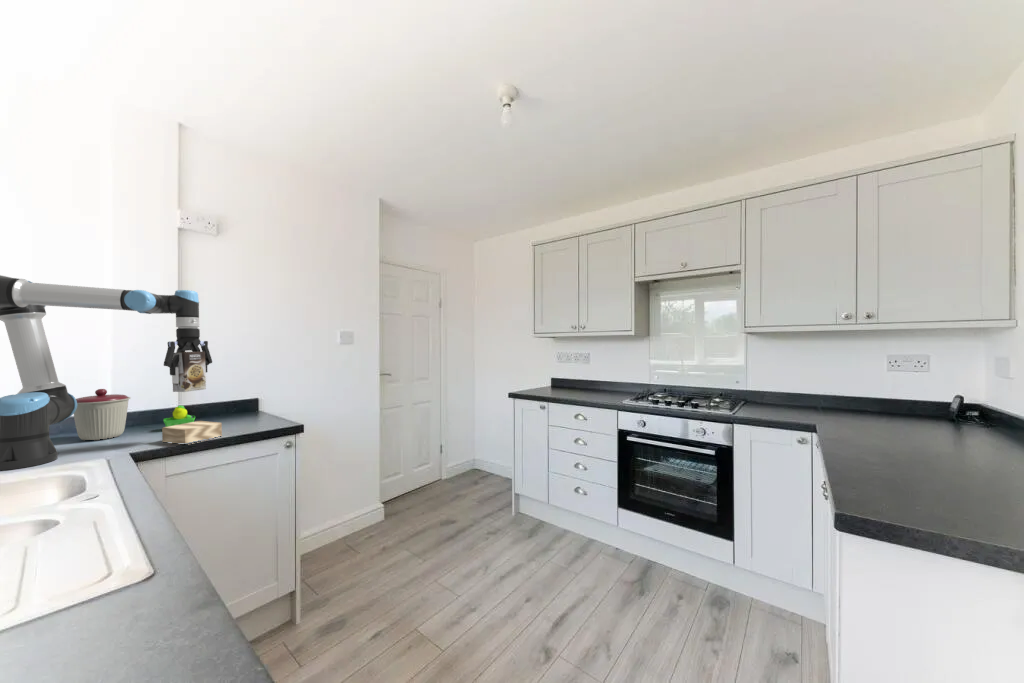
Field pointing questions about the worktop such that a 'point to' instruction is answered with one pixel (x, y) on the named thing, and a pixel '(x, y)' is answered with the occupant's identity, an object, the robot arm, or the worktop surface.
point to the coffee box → (190, 372)
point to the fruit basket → (179, 417)
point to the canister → (101, 415)
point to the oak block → (191, 432)
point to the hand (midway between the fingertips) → (189, 382)
